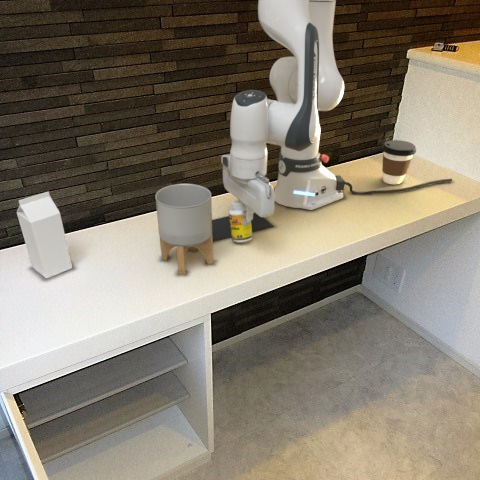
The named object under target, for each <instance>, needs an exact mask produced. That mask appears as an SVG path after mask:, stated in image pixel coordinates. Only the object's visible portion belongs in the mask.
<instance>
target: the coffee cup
mask: <svg viewBox="0 0 480 480" xmlns="http://www.w3.org/2000/svg"><path fill="white" fill-rule="evenodd" d="M381 150H382V152H383V153H382V167H381V169H382V181H383V182H384V183H386V184H389V185H400V184H401V183H402V182H403V181H404V179H405V176H406V174H407V173H408V170H409V168H410V165H411V163H412V160H413V156H414V155H415V154H416V153H417V148H416V145H415V144H414V143H412V142H409V141H406V140H399V139H391V140H387V141H385V142H383V145H382V146H381Z"/></svg>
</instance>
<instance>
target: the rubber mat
mask: <svg viewBox="0 0 480 480" xmlns="http://www.w3.org/2000/svg"><path fill="white" fill-rule="evenodd" d="M251 227H252V233H253V232H258V231H262V230H265V229H269V228H274V225H273V224H271V222H270V221H268V220H267V219H265V217H260V216H259V215H257V214H256V213H255V212H254V213H253V219H252V220H251ZM212 237H213V242H217V241H222V240H225V239H230V238H232V234H231V227H230V219H229V215H228V216H224V217H223V216H222V217H219V218H215V219H212Z"/></svg>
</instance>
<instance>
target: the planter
mask: <svg viewBox="0 0 480 480" xmlns="http://www.w3.org/2000/svg"><path fill="white" fill-rule="evenodd" d="M154 198H155V199H154V200H155V208H156V215H157V216H156V218H157V229H158V235H159V236H158V237H159V243H160V245H159V246H160V254H161V260H162V261H168V260H169V253H170V251H171V250H172V249H173V248H176V259H177V268H178V270H177V271H178V275H186V272H187V255H188V251H196V249H197V250H198V251H200V252H201V253H202V254H203V255H204V257H205V260H206V265H213V263H214V248H213V247H214V243H213V242H214V241H213V237H212V220H213V206H212V205H213V204H212V201H213V200H212V192H211V191H210V190H209V189H208V188H207V187H205V186H202V185H199V184H196V183H195V184H194V183H176V184H170V185H167V186H164V187H162V188H160V189H159V190H158V191H157V192H156V193H155V196H154Z"/></svg>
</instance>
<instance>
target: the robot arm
mask: <svg viewBox="0 0 480 480" xmlns="http://www.w3.org/2000/svg"><path fill="white" fill-rule="evenodd" d="M336 2H337V0H258V3H257V18H258V21H259V24H260V26H261V28H262V30H263V31H264V33H265V34H266V35H267V36H268V37H269V38H271V40H273V41H274V42H277V43H278V44H279V45H282V46H283V47H284V48H286V49H287V50H288V51H290V53H291V54H292V55H293V56H283V57H280V58H278V59H277V60H276V61H275V62H274V63H273V65H272V66H271V69H270V71H269V84H270V87H271V88H272V90H273V92H274V94H275V97H276V100H274V99H269V98H268V97H267V95H266V93H265V92H263V91H261V90H258V89H247V90H243V91H240V92H238V93H237V94H236V95H235V96H234V97H233V100H232V103H231V111H230V123H229V132H230V133H229V137H230V139H231V147H230V150H229V153H227V154H223V155H221V156H220V157H221V158H220V160H221V164H222V184H223V188H224V190H226V191H227V192H228V193H229V194H231V195H232V196H233V197H235V198H236V199H237V200H238V201H239V203H240V207H241V210H242V217H244V218H245V219H246V220H247V221H250V220H252V219H253V213H254V212H255V213H256V214H257V215H259V216H260V217H263V218H266V217H270V216H273V214H274V213H275V203H276V204H278V205H281V206H284V207H287V208H296V209H304V210H307V211H313V210H316V209H319V208H321V207H324V206H327V205H329V204H332V203H334V202H336V201H340V200H341V199H344V192H343V191H344V190H345V186H347V187H349V192H350V193H351V194H353V195H371V194H390V193H400V192H405V191H409V190H414V189H418V188H421V187H425V186H428V185H429V186H430V185H434V184H439V183H447V182H452V181H453V179H452V177H451V178H443V179H435V180H430V181H426V182H422V183H419V184H415V185H411V186H407V187H403V188H396V189H381V190H380V189H377V190H376V189H375V190H367V191H355V190H353V185H352V184H351V183H350V182H348V181H345V179H344V178H343V177H342V176H341V175H338V174H337V175H335V174H334V173H333V172H331V171H330V170H329V169H328V168H327V167H326V166H324V165H323V164H322V162H323V163H325V164H327V163H328V162H329V160H330V157H329V156H328V155H326V154H324V153H323V154H322V153H320V152H319V149H320V147H319V146H320V140H321V139H320V138H321V125H320V114H319V112H328V111H329V112H330V111H331V110H334V109H335V108H336V107H337V106H338V105H339V104H340V102H341V100H342V99H343V96H344V92H345V82H344V79H343V77H342V74H340V72H339V69H338V66H337V62H336V57H335V52H334V42H333V39H334V38H333V31H334V23H335V20H334V19H335V11H336ZM267 144H270V145H274V146H279V147H280V151H279V153H278V165H277V166H278V168H277V169H278V176H277V180H276V185H275V189H274V187H273V184H272V183H271V182H270V179H269V178H268V177H267V176H266V175H267V174H268V153H269V152H268V148H267Z"/></svg>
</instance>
